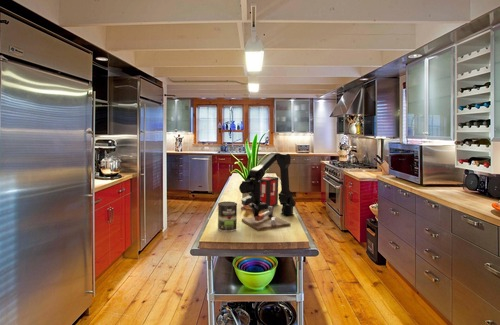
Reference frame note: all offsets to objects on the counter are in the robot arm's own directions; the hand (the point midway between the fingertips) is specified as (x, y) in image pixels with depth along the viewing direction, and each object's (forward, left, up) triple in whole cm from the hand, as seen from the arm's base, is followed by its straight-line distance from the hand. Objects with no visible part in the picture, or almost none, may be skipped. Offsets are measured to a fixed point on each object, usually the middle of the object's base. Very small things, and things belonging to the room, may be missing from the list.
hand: (255, 217), depth 179 cm
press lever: (-6, -1, -2) cm, 7 cm away
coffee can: (+18, +2, -4) cm, 19 cm away
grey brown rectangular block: (-7, +9, -2) cm, 11 cm away
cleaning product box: (-28, -34, -4) cm, 44 cm away
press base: (-6, +2, -4) cm, 7 cm away
